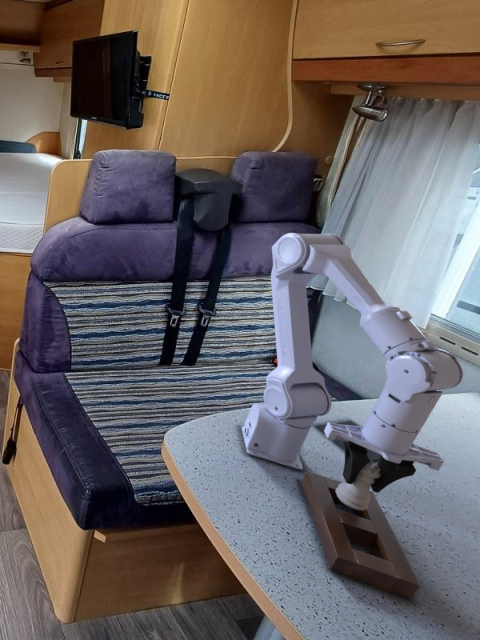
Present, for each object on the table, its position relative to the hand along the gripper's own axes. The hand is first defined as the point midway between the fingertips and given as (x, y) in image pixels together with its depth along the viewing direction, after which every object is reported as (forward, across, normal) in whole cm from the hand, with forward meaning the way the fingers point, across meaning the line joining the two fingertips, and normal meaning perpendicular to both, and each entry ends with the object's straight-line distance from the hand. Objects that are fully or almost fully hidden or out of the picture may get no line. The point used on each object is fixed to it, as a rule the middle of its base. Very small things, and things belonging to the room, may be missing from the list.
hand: (359, 483), depth 76 cm
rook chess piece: (+4, 0, 0) cm, 4 cm away
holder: (+8, 0, -4) cm, 8 cm away
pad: (+8, +9, +23) cm, 26 cm away
